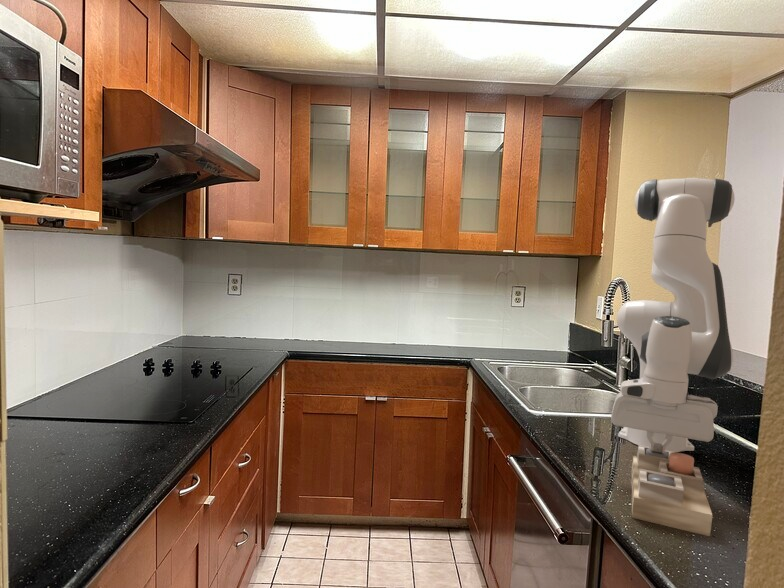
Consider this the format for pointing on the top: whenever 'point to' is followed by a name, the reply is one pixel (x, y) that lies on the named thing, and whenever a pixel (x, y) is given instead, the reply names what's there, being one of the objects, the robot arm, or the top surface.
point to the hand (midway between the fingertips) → (657, 452)
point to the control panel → (669, 495)
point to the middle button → (681, 463)
